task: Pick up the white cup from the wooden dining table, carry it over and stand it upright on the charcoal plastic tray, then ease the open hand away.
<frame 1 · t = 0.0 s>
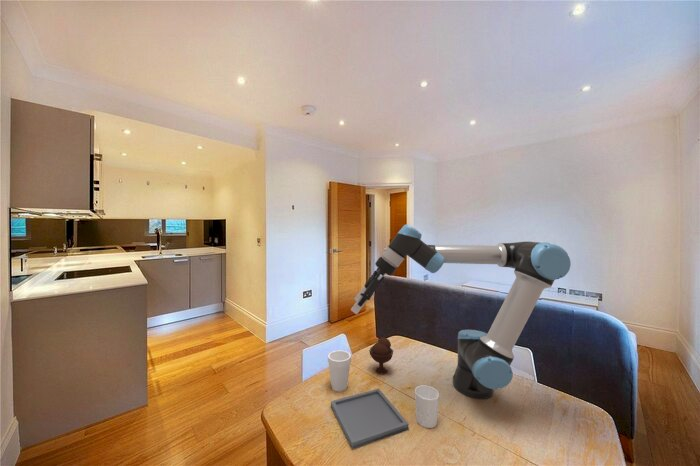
hand: (355, 306, 99), 36 cm above the table, tool tilted 35°, fingers open, 13 cm apart
white cup: (426, 421, 89), on the table
tray: (367, 417, 90), on the table
ice cream bowl: (381, 371, 120), on the table
foam cup: (339, 387, 107), on the table
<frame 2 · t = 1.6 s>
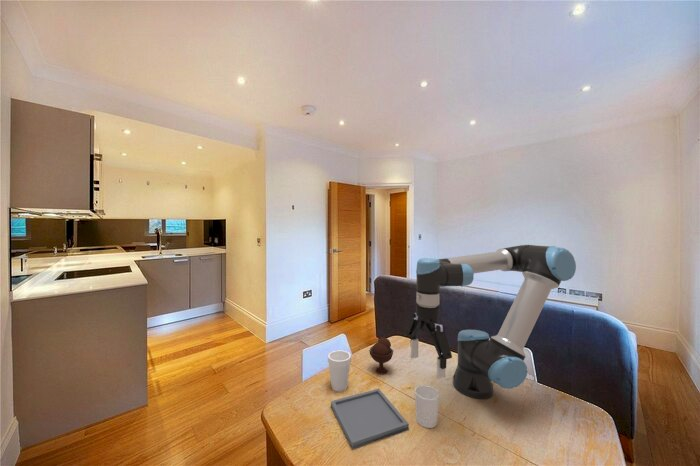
hand: (426, 366, 88), 19 cm above the table, tool pointing down, fingers open, 13 cm apart
nothing on the table moved.
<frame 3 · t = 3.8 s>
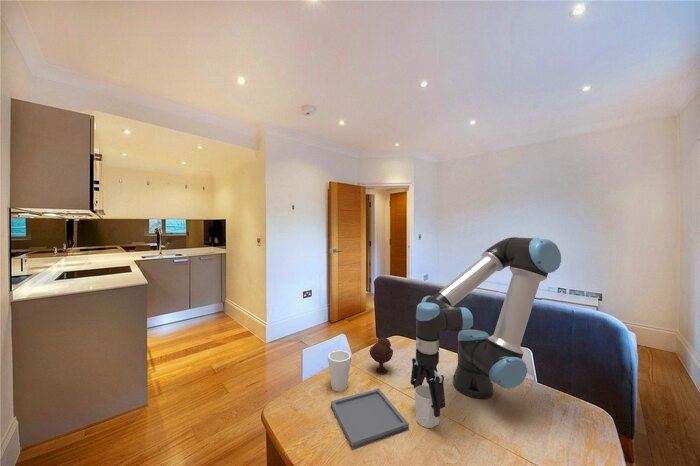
hand: (426, 415, 89), 2 cm above the table, tool pointing down, fingers closed on white cup, 8 cm apart
white cup: (426, 421, 89), on the table, touching gripper
everything else where it was.
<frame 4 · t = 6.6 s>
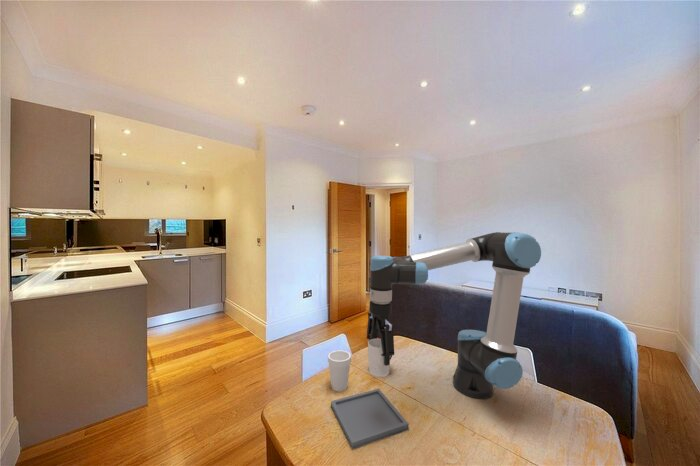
hand: (378, 367, 89), 18 cm above the table, tool pointing down, fingers closed on white cup, 8 cm apart
white cup: (378, 372, 89), point 16 cm above the table, touching gripper
everything else where it was.
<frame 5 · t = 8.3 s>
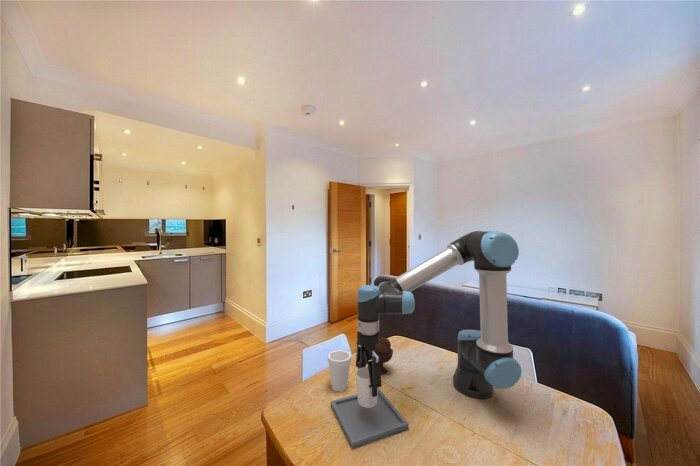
hand: (367, 396, 90), 7 cm above the table, tool pointing down, fingers closed on white cup, 8 cm apart
white cup: (367, 401, 90), point 5 cm above the table, touching gripper
everything else where it was.
when the fingers open (3 cm above the table, at t = 9.8 s): white cup stays where it is, resting on tray.
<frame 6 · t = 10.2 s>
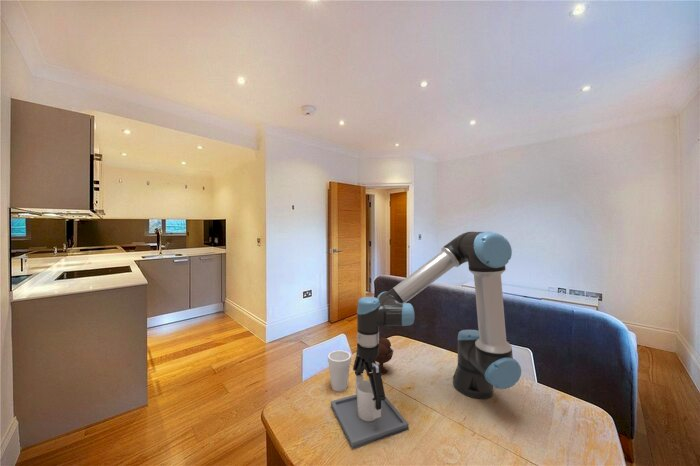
hand: (367, 404, 90), 5 cm above the table, tool pointing down, fingers open, 13 cm apart
white cup: (367, 415, 90), point 1 cm above the table, touching tray
everything else where it was.
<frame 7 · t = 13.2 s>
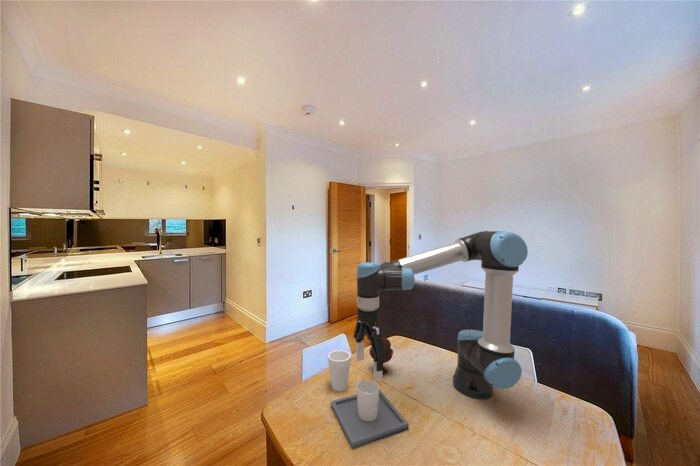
hand: (368, 369, 90), 17 cm above the table, tool pointing down, fingers open, 13 cm apart
nothing on the table moved.
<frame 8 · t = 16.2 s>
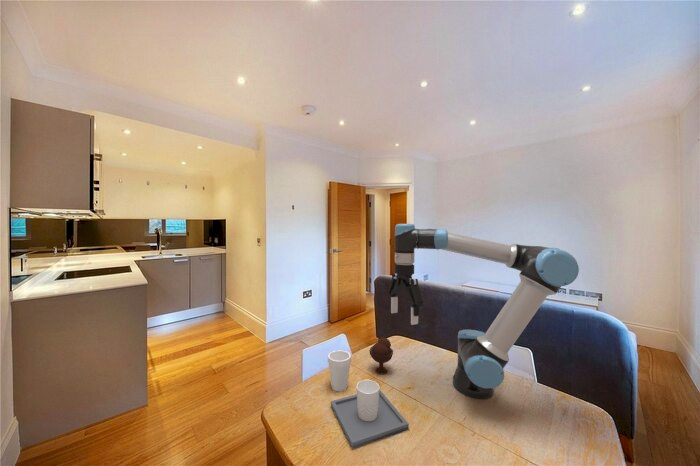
hand: (403, 318, 101), 31 cm above the table, tool pointing down, fingers open, 13 cm apart
nothing on the table moved.
at the end: white cup inside the target area on the tray (0.1 cm from its centre), point 0.8 cm above the tray's base; white cup tilted 0°; the gripper is holding nothing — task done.
